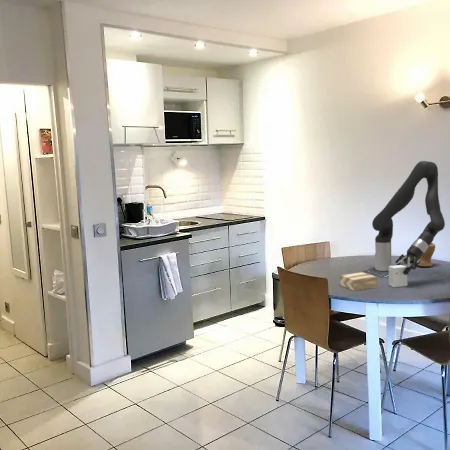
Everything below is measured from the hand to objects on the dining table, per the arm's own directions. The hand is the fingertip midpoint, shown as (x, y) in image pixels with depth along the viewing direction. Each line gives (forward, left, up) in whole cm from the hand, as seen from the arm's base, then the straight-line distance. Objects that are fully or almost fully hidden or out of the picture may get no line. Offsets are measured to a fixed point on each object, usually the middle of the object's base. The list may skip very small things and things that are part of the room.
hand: (399, 272), depth 269 cm
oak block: (-8, -20, -7) cm, 23 cm away
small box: (0, -1, -7) cm, 7 cm away
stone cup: (-35, +42, -7) cm, 55 cm away
